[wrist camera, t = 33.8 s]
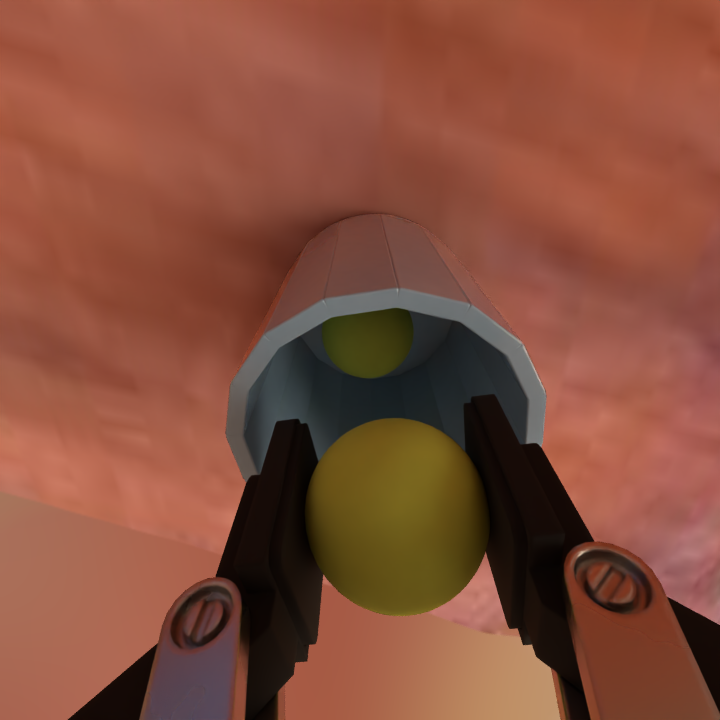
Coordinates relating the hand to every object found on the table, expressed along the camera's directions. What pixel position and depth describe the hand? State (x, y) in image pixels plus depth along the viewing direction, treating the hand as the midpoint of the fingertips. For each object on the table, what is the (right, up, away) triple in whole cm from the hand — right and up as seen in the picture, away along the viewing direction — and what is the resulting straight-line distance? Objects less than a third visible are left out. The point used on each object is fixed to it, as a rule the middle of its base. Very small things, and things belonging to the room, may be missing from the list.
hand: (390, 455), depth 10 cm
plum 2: (0, 0, 0) cm, 0 cm away
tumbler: (0, +5, +9) cm, 11 cm away
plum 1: (0, +5, +9) cm, 10 cm away
